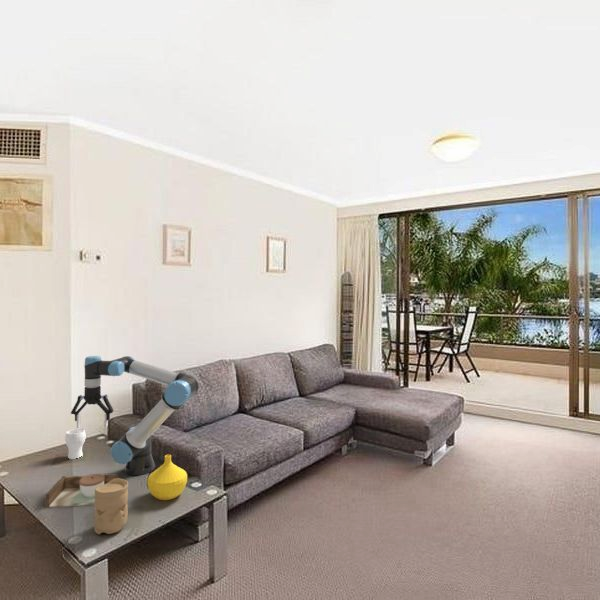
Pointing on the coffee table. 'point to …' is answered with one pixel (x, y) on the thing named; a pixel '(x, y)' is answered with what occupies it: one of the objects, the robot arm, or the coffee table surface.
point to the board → (67, 498)
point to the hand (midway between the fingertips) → (92, 426)
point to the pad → (82, 499)
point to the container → (111, 506)
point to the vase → (167, 480)
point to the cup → (75, 442)
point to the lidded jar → (91, 484)
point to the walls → (69, 486)
